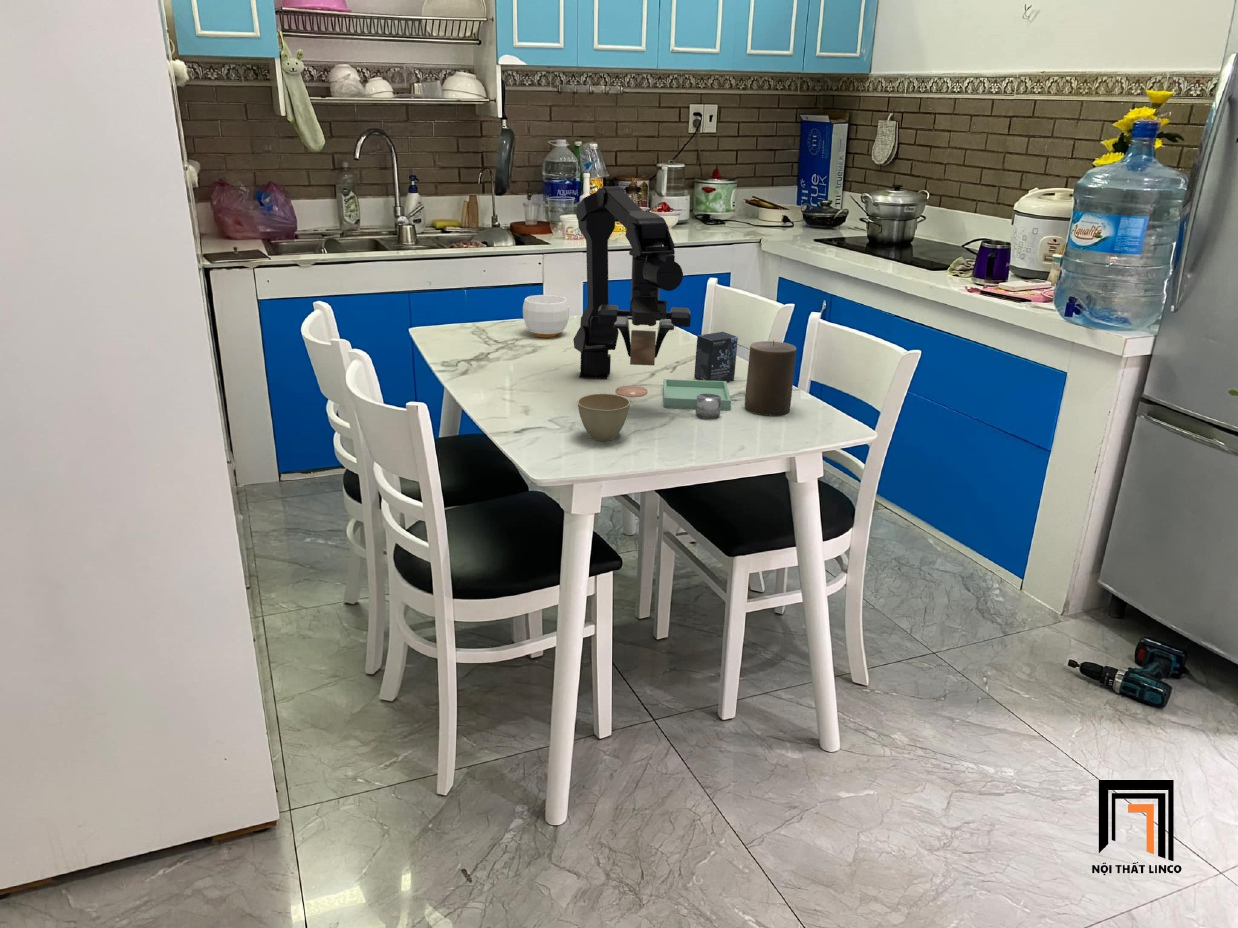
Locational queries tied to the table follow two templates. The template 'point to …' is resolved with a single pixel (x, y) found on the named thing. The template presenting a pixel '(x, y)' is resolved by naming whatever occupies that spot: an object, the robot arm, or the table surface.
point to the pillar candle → (770, 378)
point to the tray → (693, 392)
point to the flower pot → (603, 415)
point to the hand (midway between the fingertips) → (642, 356)
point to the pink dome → (631, 391)
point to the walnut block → (642, 347)
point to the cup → (546, 314)
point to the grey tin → (708, 406)
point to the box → (716, 357)
